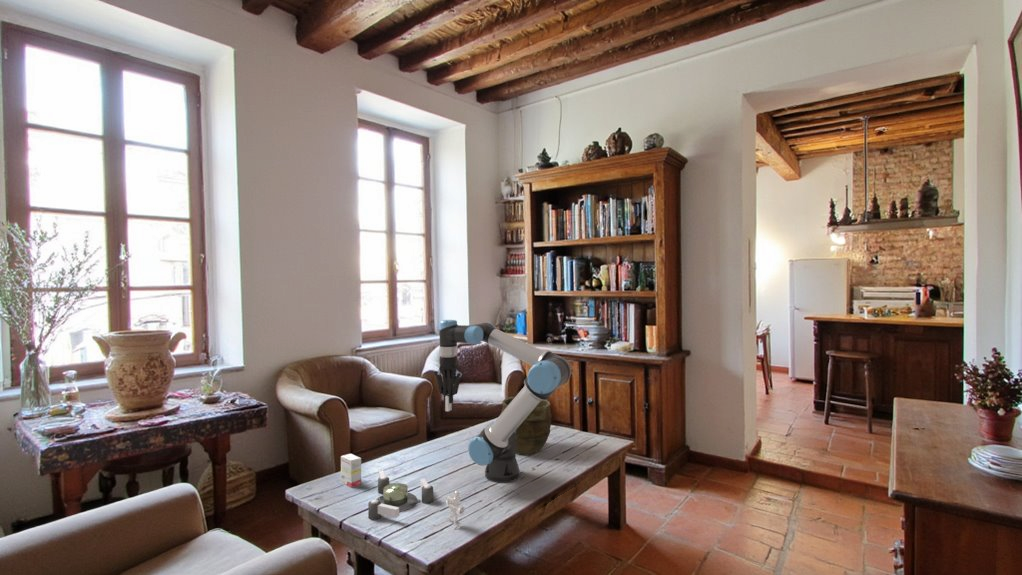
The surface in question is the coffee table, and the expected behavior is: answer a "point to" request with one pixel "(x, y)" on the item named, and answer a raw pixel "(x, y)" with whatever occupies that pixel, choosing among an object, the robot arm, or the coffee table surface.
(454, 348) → the robot arm
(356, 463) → the ink box
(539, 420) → the clay pot
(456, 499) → the figurine
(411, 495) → the base
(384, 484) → the knob far
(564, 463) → the coffee table surface
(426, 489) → the knob near
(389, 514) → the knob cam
